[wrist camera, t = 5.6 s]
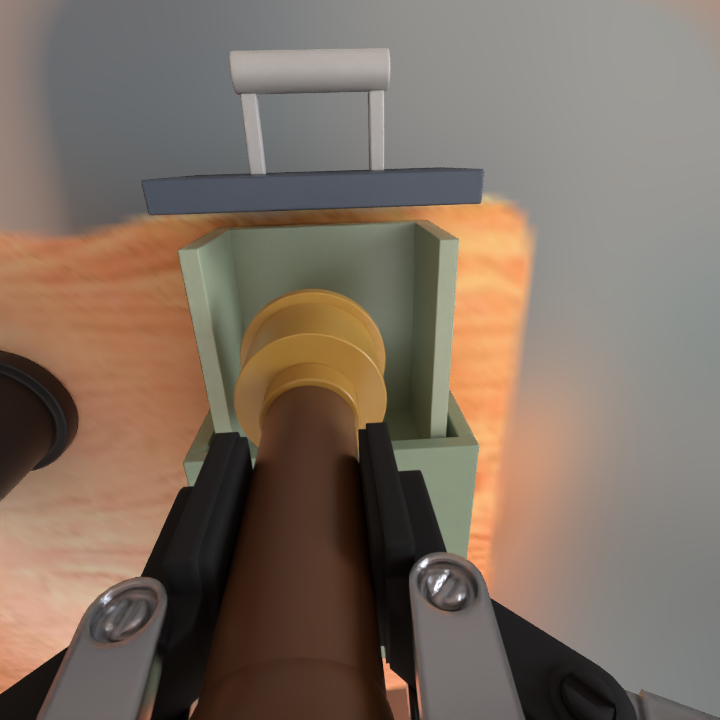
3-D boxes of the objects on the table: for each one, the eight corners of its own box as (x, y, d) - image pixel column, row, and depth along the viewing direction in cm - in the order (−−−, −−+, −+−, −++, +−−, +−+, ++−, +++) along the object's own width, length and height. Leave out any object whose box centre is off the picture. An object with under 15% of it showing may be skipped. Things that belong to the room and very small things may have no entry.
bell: (252, 421, 19) (70, 1056, 5) (232, 292, 17) (-193, 859, 3) (384, 413, 20) (524, 991, 6) (383, 284, 17) (624, 765, 3)
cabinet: (225, 376, 27) (182, 462, 19) (438, 365, 28) (479, 445, 20) (257, 552, 34) (235, 669, 26) (428, 540, 34) (457, 652, 26)
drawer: (178, 72, 19) (105, 30, 13) (446, 66, 20) (497, 23, 14) (239, 420, 27) (211, 495, 21) (430, 410, 28) (457, 480, 22)
